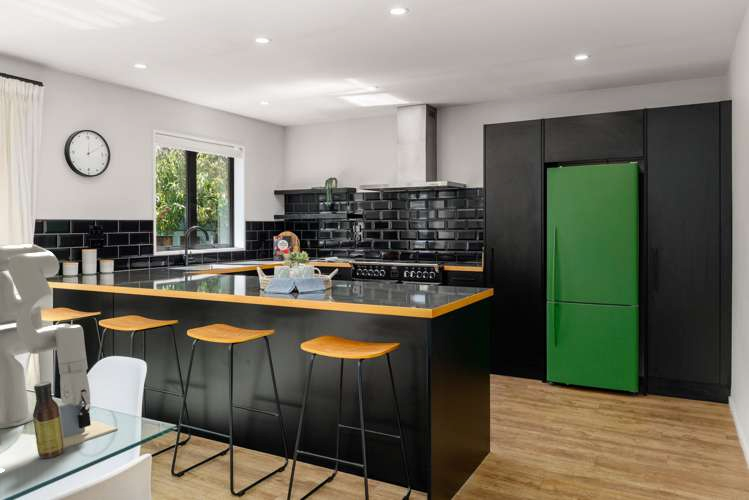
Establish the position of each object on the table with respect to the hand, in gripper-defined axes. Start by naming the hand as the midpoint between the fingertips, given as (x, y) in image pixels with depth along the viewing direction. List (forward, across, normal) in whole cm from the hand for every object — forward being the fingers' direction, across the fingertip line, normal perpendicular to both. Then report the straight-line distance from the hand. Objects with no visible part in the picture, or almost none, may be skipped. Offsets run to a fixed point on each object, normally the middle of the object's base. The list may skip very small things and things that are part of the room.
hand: (79, 424), depth 171 cm
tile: (-3, 0, +1) cm, 3 cm away
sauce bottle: (+3, +11, -13) cm, 17 cm away
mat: (+3, +1, -1) cm, 3 cm away
